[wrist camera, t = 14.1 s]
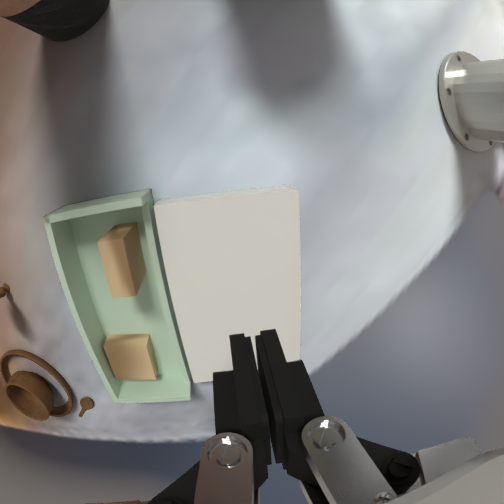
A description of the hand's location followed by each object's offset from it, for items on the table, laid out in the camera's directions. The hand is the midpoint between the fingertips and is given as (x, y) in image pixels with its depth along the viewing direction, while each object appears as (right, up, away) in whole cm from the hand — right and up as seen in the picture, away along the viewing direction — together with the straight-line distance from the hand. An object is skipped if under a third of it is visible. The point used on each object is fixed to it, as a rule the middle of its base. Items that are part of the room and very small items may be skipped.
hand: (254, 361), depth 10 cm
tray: (-12, -1, +15) cm, 19 cm away
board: (-2, +1, +17) cm, 17 cm away
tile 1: (-9, +4, +11) cm, 15 cm away
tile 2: (-12, -7, +15) cm, 20 cm away
